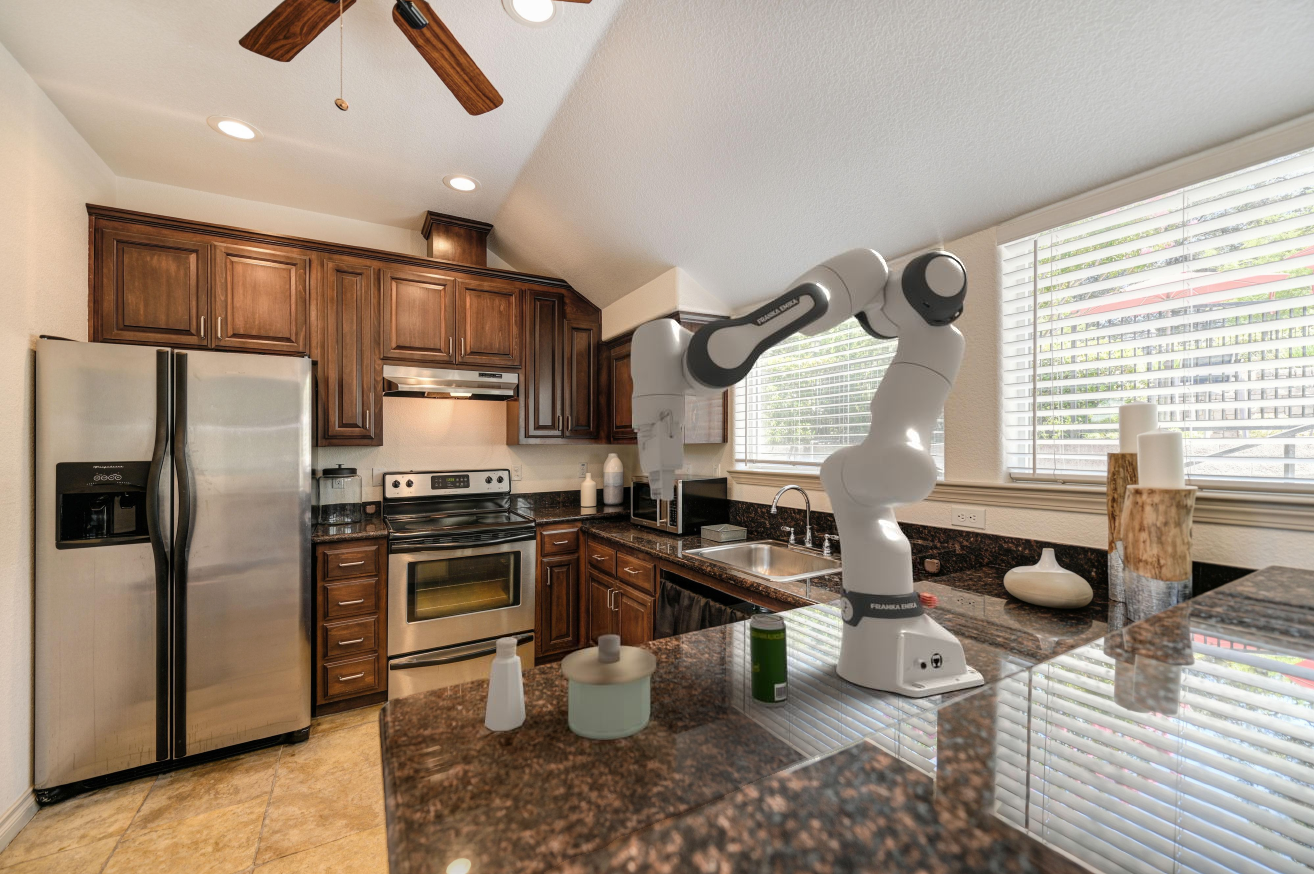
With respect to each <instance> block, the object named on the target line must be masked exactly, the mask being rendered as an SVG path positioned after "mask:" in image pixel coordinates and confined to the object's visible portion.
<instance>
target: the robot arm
mask: <svg viewBox="0 0 1314 874" xmlns="http://www.w3.org/2000/svg"><path fill="white" fill-rule="evenodd" d="M894 270H895V269H891V268H889V267H888V266H887V264H886V261H885V260H884V259H883V256H882V255H881V254H880V253H879V252H877V251H876V250H874V249H871V248H868V247H856V248H854V249H849V250H847V251H845V252H842V253H839V254H837V255H834V256H833V257H830V258H829V259H826V260H824V261H823V262H821V263H819V264H817V265H815V266H813V267H812V268H810V269H808V270H807V271H805V272H804V273H803V274H801V275H800V276H798V277H797V278H796V279H795V280H794V281H792V282H791V283H790V284H789V285H788V286H787V287H786V288H785V289H784V290H783V292H782V295H780V296H778V297H776V298H775V299H773V300H771V301H769V302H767V303H766V304H764V305H762V306H761V307H759V308H757V309H755V310H753V311H751V312H750V313H747V314H746V315H743V316H739V317H735V318H728V319H727V318H726V319H719V320H714V321H710V322H708V323H706V324H703V325H702V326H701V327H699V328H698V329H697V330H696V331H695V332H692V331H690V330H688V329H687V328H685V327H683V326H682V325H681V324H679V323H678V321H676V320H675V319H673V318H667V317H662V318H661V317H660V318H655V319H652V320H651V319H650V320H648V321H647V322H644V323H642V324H640V325H639V326H638V327H637V329H636V330H635V331H634V333H633V335H632V338H631V346H630V376H631V379H632V382H633V391H632V393H631V394H632V395H631V412H632V414H631V415H632V416H631V418H632V419H631V420H632V428H633V432H635V433H637V447H638V457H639V463H640V469H641V471H642V473H643V474H648V478H647V479H648V483H649V487H650V497H651V498H650V499H652V500H662V501H673V500H674V499H675V498H674V497H675V496H674V495H675V493H674V492H675V491H674V490H675V489H674V488H675V483H676V471H679V470H682V469H683V468H684V465H685V464H684V463H685V456H684V455H685V454H684V453H685V452H684V441H683V440H684V439H683V431H682V427H685V425H686V406H685V405H686V403H685V395H687V396H692V397H698V398H707V399H708V398H713V397H714V398H715V397H717V396H719V395H721V394H722V393H724V392H725V391H726V390H728V389H729V388H730V387H732V386H734V385H735V384H738V383H739V382H741V381H742V380H744V379H745V378H746V377H747V376H748V374H749V373H750V372H751V370H752V369H753V367H754V366H755V364H756V363H757V361H758V360H759V358H760V357H761V356H762V355H763V354H764V353H765V352H766V351H769V349H771V348H773V347H775V346H777V345H778V344H780V343H782V342H783V341H785V340H786V339H788V338H789V337H791V336H793V335H795V334H797V333H799V334H801V335H803V336H806V337H814V336H818V335H820V334H822V333H825V332H827V331H830V330H832V329H834V328H836V327H837V326H839V325H841V324H843V323H844V322H846V321H847V320H849V319H850V318H852V317H854V318H855V319H856V320H857V322H858V323H859V325H860V327H861V328H862V329H863V331H865V333H866V334H867V335H869V336H870V337H872V338H873V339H876V340H883V341H884V340H892V339H896V338H897V347H896V352H895V355H894V356H893V358H892V360H891V361H890V363H889V365H888V367H887V368H886V371H885V373H884V375H883V377H882V379H881V381H880V383H879V385H878V387H877V389H876V391H875V393H874V395H873V396H872V399H871V401H870V404H869V410H870V411H869V412H870V415H871V416H872V417H871V423H870V427H869V430H868V433H867V435H866V437H865V439H864V440H863V441H862V442H861V443H860V444H855V445H847V446H844V447H841V448H839V449H837V450H835V451H834V452H833V453H831V454H830V455H829V456H827V457H826V458H824V461H823V462H822V464H821V466H820V469H819V481H820V485H821V487H822V488H823V490H824V492H825V494H827V496H828V498H829V502H830V505H831V508H832V512H833V517H834V519H835V521H834V522H835V524H836V528H837V531H838V533H837V534H838V537H839V542H840V543H839V545H840V556H841V559H840V560H841V575H842V585H841V586H840V592H839V593H840V614H841V620H842V633H841V644H840V652H839V657H838V661H837V665H836V668H835V671H836V673H837V675H838V676H840V677H841V678H842V679H844V680H846V681H849V682H850V683H852V684H856V685H859V686H862V687H865V688H869V689H874V690H880V691H886V692H891V693H892V692H893V693H897V694H900V695H903V696H907V697H913V698H921V697H927V696H931V695H937V694H943V693H947V692H952V691H957V690H961V689H967V688H973V687H977V686H981V685H984V684H985V679H984V677H983V675H982V674H981V672H979V671H978V670H976V669H975V668H973V667H971V666H970V665H968V664H967V660H966V656H965V651H964V649H963V646H962V644H961V642H960V640H959V639H958V638H957V637H956V636H955V635H954V634H952V633H951V632H950V631H949V630H947V629H946V628H944V627H943V626H942V625H941V624H939V623H938V622H936V621H935V620H934V619H932V618H931V617H930V616H929V615H928V614H926V613H925V612H926V611H925V609H924V606H927V607H928V608H933V609H934V608H935V607H937V605H938V598H937V597H936V596H935V595H933V594H930V593H928V592H927V593H925V592H924V593H922V594H921V593H920V592H918V591H917V590H915V589H914V579H913V563H912V562H913V561H912V546H911V542H910V541H909V539H908V537H907V536H906V535H905V534H904V533H903V531H902V530H901V528H900V525H899V524H898V520H897V519H896V515H895V512H894V509H896V508H897V509H898V508H903V507H906V506H910V505H911V506H912V505H913V504H917V503H919V502H921V501H924V500H925V499H927V498H928V497H929V496H930V494H932V492H933V491H934V489H935V488H936V484H937V481H938V480H937V479H938V468H937V464H936V461H935V459H934V457H933V456H932V454H931V446H932V439H933V433H934V430H935V427H936V423H937V422H938V420H939V417H940V415H941V413H942V410H943V409H944V406H945V404H946V402H947V400H948V398H949V396H950V394H951V392H952V391H953V390H952V389H953V387H954V385H955V383H956V380H957V377H958V375H959V372H960V370H961V366H962V362H963V359H964V354H965V351H966V349H965V348H966V340H965V338H964V337H965V336H964V335H963V334H962V332H961V331H960V330H959V329H958V328H956V327H955V326H953V323H955V321H957V320H958V319H960V317H961V316H962V314H963V312H964V300H965V299H966V295H967V291H968V274H967V271H966V268H965V266H964V264H963V263H962V261H961V260H960V259H959V258H958V257H957V256H955V255H954V254H952V253H950V252H948V251H941V250H935V251H930V252H926V253H924V254H923V253H922V254H921V255H919V256H916V257H914V258H913V259H912V260H910V261H909V262H908V263H907V264H904V265H903V266H901V267H899V268H898V269H896V270H895V271H894ZM956 314H957V315H956Z"/></svg>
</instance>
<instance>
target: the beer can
mask: <svg viewBox="0 0 1314 874" xmlns="http://www.w3.org/2000/svg"><path fill="white" fill-rule="evenodd" d="M787 645H788V643H787V625H786V623H785V617H784V616H781V615H779V614H773V613H772V614H771V613H757V614H753V615H751V616H750V622H749V646H750V649H749V650H750V652H749V654H750V656H749V657H750V682H751V683H750V689H751V690H750V691H751V697H752V700H753V702H754V704H756V705H758V706H761V707H765V708H781V707H784V706H785V705H786V704H787V702H788V699H789V683H788V682H789V678H788V675H789V674H788V648H787Z"/></svg>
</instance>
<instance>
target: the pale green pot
mask: <svg viewBox="0 0 1314 874" xmlns="http://www.w3.org/2000/svg"><path fill="white" fill-rule="evenodd" d="M567 703H568V709H567V710H568V716H567V717H568V719H567V721H568V724H567V725H568V728H569V729H570V730H571V731H572V732H573V733H574V734H576V735H577V736H580V737H583V738H585V739H586V738H587V739H591V740H601V741H603V740H605V741H608V740H617V739H619V740H620V739H622V738H623V739H624V738H627V737H631V736H633V735H635V734H638V733H640V732H641V731H643V730H644V729H646V727H647V726H648V725H649V723H650V715H651V675H649V676H647V677H645V678H643V679H640V680H638V681H634V682H630V683H624V684H616V685H590V684H583V683H578V682H575V681H572V680H570V679H568V702H567Z"/></svg>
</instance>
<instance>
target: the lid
mask: <svg viewBox="0 0 1314 874" xmlns="http://www.w3.org/2000/svg"><path fill="white" fill-rule="evenodd" d="M597 641H598V644H597V646H593V647H588V648H586V647H585V648H583V649H580V650H576V651H573V652H571V653H570V654H567V655H566V656H565V657H564V658H563V659H562V660H561V674H562V676H564V677H565V678H566V679H568V680H569V679H570V680H572V681H575V682H578V683H583V684H590V685H616V684H624V683H630V682H634V681H638V680H640V679H643V678H645V677H647V676H649V675H650V676H651V675H652V674H653V673H654V672H655V671H656V669H657V657H656V656H655V654H654V653H652V652H651V651H650V650H646V649H644V648H641V647H636V646H629V645H621V636H620V635H618V634H603V635H600V636H598V639H597Z"/></svg>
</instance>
